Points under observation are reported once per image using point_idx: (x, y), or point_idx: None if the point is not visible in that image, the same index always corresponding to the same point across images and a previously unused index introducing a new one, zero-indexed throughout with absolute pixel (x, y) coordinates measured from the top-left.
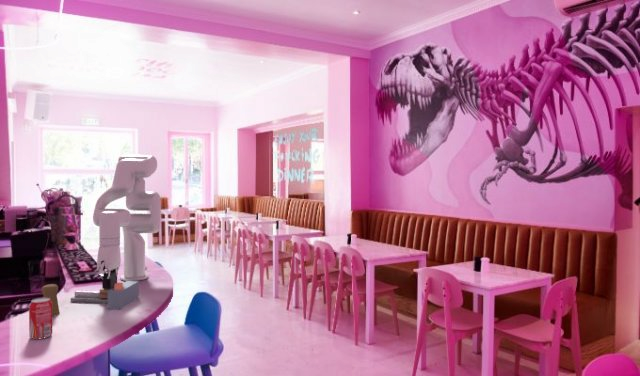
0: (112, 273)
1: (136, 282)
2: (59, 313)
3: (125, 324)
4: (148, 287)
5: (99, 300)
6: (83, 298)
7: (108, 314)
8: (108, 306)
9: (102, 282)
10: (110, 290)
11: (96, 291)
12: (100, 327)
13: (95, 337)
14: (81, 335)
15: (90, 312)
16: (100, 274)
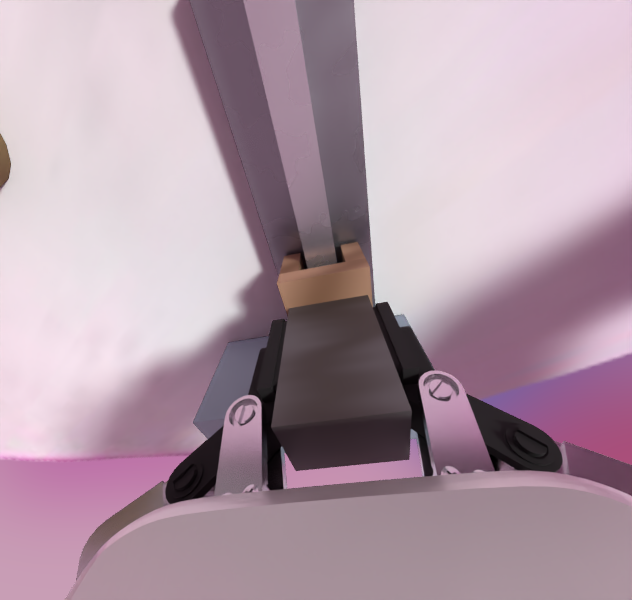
0: (366, 453)
1: (410, 438)
2: (5, 179)
3: (165, 442)
4: (610, 298)
5: (275, 259)
6: (237, 127)
7: (187, 377)
8: (226, 353)
9: (265, 354)
10: (209, 427)
11: (324, 196)
12: (102, 417)
13: (59, 439)
14: (30, 414)
15: (154, 313)
16: (135, 509)
